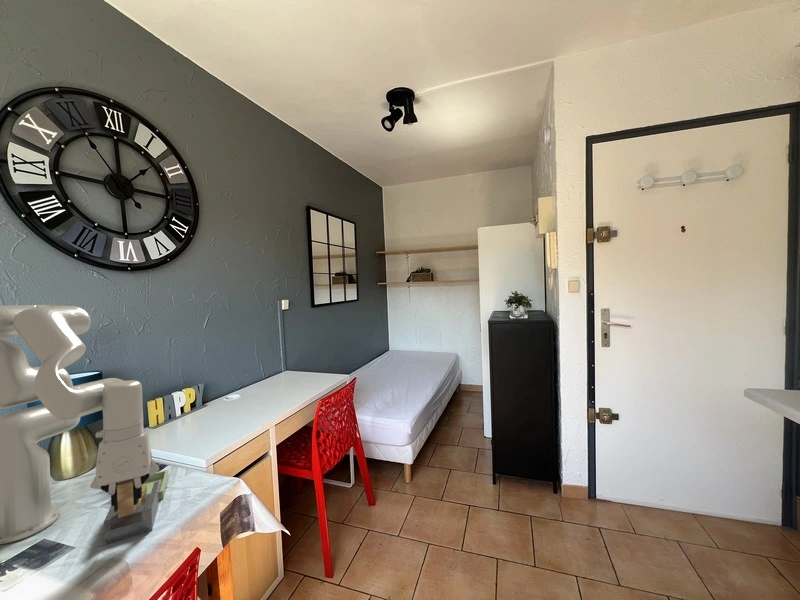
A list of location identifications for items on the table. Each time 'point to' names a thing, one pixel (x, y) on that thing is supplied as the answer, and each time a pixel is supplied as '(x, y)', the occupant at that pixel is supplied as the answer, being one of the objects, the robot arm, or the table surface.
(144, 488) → the yellow cube
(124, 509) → the t-shaped hammer
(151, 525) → the channel
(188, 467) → the table surface
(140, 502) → the yellow wooden cube
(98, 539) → the table surface
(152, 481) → the chip tray
